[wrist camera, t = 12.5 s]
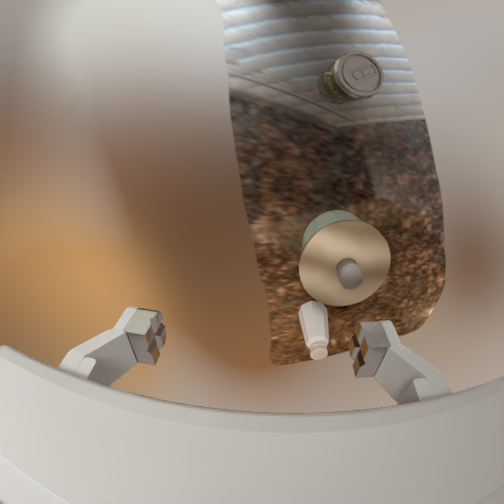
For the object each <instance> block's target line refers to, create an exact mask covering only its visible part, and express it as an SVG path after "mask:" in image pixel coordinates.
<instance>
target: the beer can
mask: <svg viewBox="0 0 504 504" xmlns="http://www.w3.org/2000/svg"><path fill="white" fill-rule="evenodd" d="M382 84H383V72H382V69H381V67H380V65H379V64H378V63H377V61H376V60H375V59H373V58H372V57H371V56H369V55H367V54H365V53H361V52H350V53H345V54H344V55H342V56H340V57H339V58H338V59H337V60H336V61H335V62H333V63H332V64H331V65H330V66H329V67H328V68H327V69H326V70H325V71H324V72H323V73H322V74H321V76H320V77H319V80H318V89H319V91H320V94H321V95H322V96H323V97H324V98H325V99H326V100H327V101H329V102H331V103H334V104H343V103H348V102H352V101H356V100H361V99H365V98H370V97H372V96H373V95H375V94H376V93H377V92H378V91H379V89H380V88H381V87H382Z"/></svg>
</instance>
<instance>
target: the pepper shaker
mask: <svg viewBox="0 0 504 504" xmlns="http://www.w3.org/2000/svg"><path fill="white" fill-rule="evenodd" d="M298 315H299V319H300V323H301V327H302V331H303V335H304V339H305V343H306V346H307V347H308V348H309V349H310V357H311V358H312V359H314V360H321V359H324V358H325V357H326V356H327V355H328V351H327V347H326V346H327V344H328V342H329V332H328V314H327V308H326V307H325V306H324V304H323V303H321V302H319V301H313V300H311V301H309V302H307V303H305V304H303V305H301V308H300V310H299V313H298Z"/></svg>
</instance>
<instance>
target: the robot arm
mask: <svg viewBox="0 0 504 504" xmlns="http://www.w3.org/2000/svg"><path fill="white" fill-rule="evenodd" d="M162 319H163V316H162V312H160V311H157V310H150V309H144V308H136V307H130V306H129V307H127V309H126V310H125V311H124V313H123V314H122V316H121V317H120V319H119V320H118V322H117V323H116V325H115V326H114V328H113V329H112V330H111V329H109V330H107V331H105V332H103V333H101V334H99V335H98V336H96V337H94V338H92V339H90V340H88V341H86V342H84V343H83V344H81V345H79V346H77V347H75V348H74V349H72V350H70V351H69V352H68V353H67V355H66V356H65V358H64V359H63V361H62V362H61V364H60V365H59V367H58V368H55V367H52V366H50V365H48V364H45V363H43V362H41V361H38V360H36V359H34V358H32V357H30V356H27V355H25V354H23V353H21V352H19V351H17V350H15V349H13V348H12V347H10V346H6V345H3V346H0V504H504V377H501V378H498V379H495V380H493V381H490V382H487V383H484V384H481V385H478V386H475V387H472V388H469V389H466V390H462V391H459V392H455V393H451V390H450V388H449V386H448V383H447V381H446V379H445V377H444V375H443V373H442V372H440V371H439V370H438V369H437V368H435V367H434V366H432V365H431V364H430V363H428V362H427V361H426V360H424V359H423V358H422V357H420V356H419V355H417V354H416V353H415V352H413V351H412V350H411V349H409V348H408V347H406V346H403V345H402V343H401V341H400V339H399V337H398V334H397V332H396V330H395V328H394V326H393V324H392V322H391V321H390V320H385V321H362V322H357V323H356V325H355V328H354V329H355V334H354V335H353V336H352V337H351V341H350V348H349V349H350V356H351V358H352V359H353V360H354V364H353V368H354V373H355V377H373V376H374V378H375V379H376V380H377V381H378V382H379V383H380V385H381V386H382V387H383V388H384V389H385V390H386V391H387V392H388V393H389V394H390V395H391V397H392V398H393V399H394V400H395V401H396V402H397V403H398V404H397V405H395V406H388V407H381V408H373V409H364V410H355V411H341V412H323V413H267V412H250V411H237V410H227V409H217V408H209V407H202V406H195V405H189V404H183V403H177V402H172V401H167V400H161V399H157V398H152V397H147V396H144V395H139V394H135V393H131V392H127V391H123V390H120V389H116V388H113V387H110V385H111V384H112V383H114V382H115V381H116V380H117V379H119V378H120V377H121V376H122V375H124V374H125V373H126V372H127V371H129V370H130V369H131V368H132V367H134V366H135V365H136V364H137V362H138V363H144V364H150V365H156V362H157V360H158V358H159V355H160V352H159V349H160V348H162V347H163V345H164V344H165V340H166V329H165V326H164V325H163V324H162V323H161V322H162Z"/></svg>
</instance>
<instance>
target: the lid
mask: <svg viewBox="0 0 504 504" xmlns="http://www.w3.org/2000/svg"><path fill="white" fill-rule="evenodd" d="M390 261H391V256H390V249H389V246H388V244H387V242H386V240H385V238H384V237H383V236H382V235H381V233H380V232H379V231H378V230H377V229H376V228H375V227H373V226H372V225H370V224H368V223H366V222H363V221H360V220H353V219H346V220H339V221H335V222H332V223H330V224H327V225H326V226H324V227H322V228H321V229H319V230H318V231H316V232H315V233H314V234H313V235H312V236H311V237H310V239H309V240H308V241H307V243H306V244H305V246H304V248H303V250H302V252H301V255H300V260H299V273H300V279H301V282H302V284H303V287H304V288H305V290H306V291H307V292H308V294H309V295H310V296H312V297H313V298H314V299H316V300H317V301H319V302H321V303H324V304H327V305H332V306H346V305H351V304H355V303H358V302H360V301H362V300H364V299H366V298H368V297H369V296H371V295H372V294H373V293H374V292H375V291H376V290H377V289H378V288H379V287H380V286H381V285H382V283H383V282H384V280H385V278H386V276H387V274H388V271H389V268H390Z"/></svg>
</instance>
